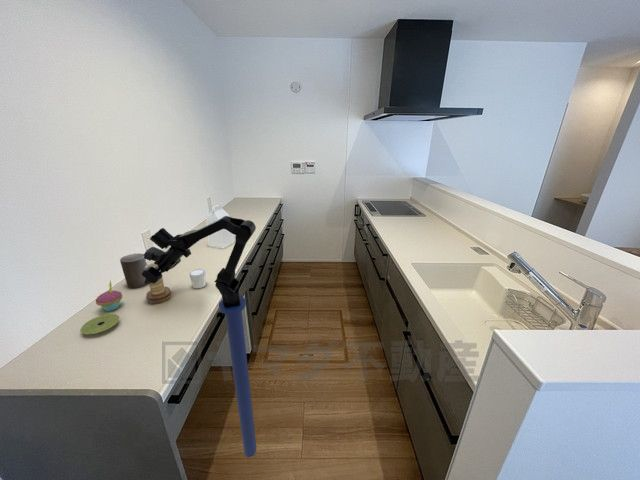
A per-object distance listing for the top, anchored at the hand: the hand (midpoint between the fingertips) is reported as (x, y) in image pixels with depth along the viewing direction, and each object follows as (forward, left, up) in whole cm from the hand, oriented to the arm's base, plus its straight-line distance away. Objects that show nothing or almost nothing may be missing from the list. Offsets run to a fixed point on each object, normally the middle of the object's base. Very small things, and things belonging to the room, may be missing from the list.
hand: (151, 278), depth 111 cm
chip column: (-1, 0, -7) cm, 7 cm away
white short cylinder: (-17, -6, -10) cm, 20 cm away
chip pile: (-1, 0, -10) cm, 10 cm away
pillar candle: (+11, -17, -10) cm, 22 cm away
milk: (-26, -58, -10) cm, 64 cm away
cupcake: (+16, +2, -10) cm, 19 cm away
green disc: (+15, +15, -10) cm, 24 cm away
